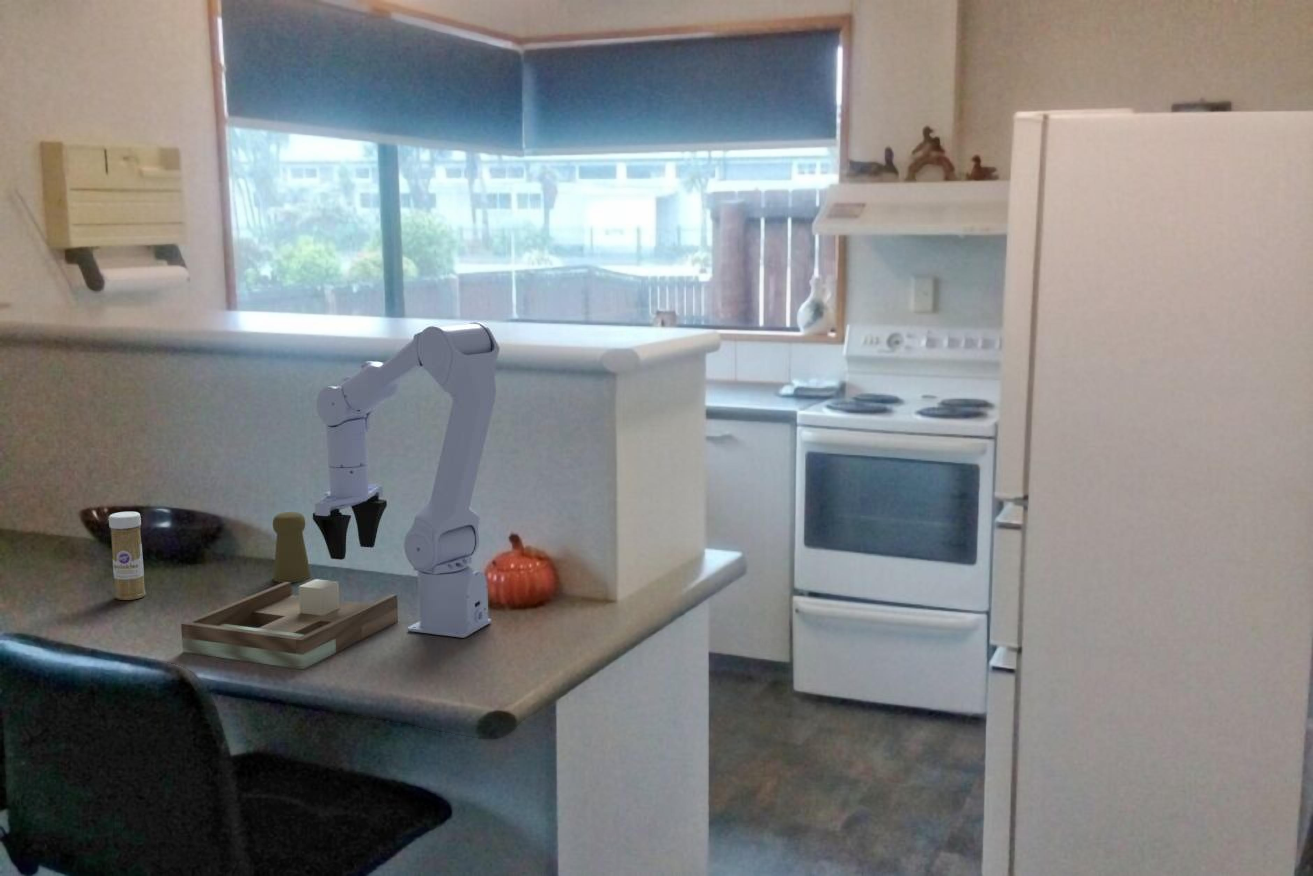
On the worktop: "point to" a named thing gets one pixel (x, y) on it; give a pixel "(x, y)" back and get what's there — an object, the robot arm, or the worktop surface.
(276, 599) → the box
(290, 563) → the cork
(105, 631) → the worktop surface
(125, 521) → the sprinkles bottle
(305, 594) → the cream cube
